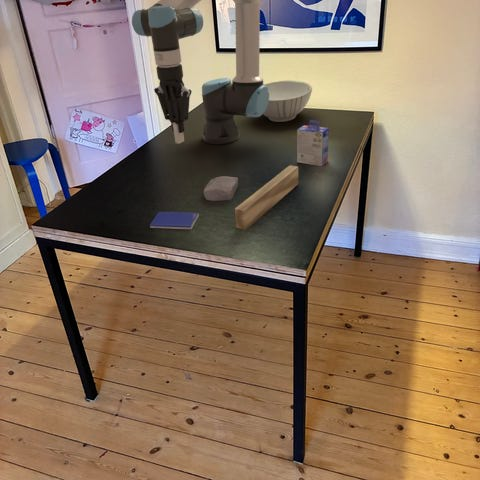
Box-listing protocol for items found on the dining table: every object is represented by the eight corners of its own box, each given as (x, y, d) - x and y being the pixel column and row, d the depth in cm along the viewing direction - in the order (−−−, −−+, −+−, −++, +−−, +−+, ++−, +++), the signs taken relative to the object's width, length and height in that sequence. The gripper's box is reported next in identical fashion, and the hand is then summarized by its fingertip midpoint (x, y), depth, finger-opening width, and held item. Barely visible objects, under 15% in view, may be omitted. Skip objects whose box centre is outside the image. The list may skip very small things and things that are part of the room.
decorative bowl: (296, 131, 197) (295, 102, 190) (241, 124, 210) (238, 97, 203) (322, 109, 215) (322, 82, 208) (270, 104, 228) (268, 78, 221)
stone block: (204, 206, 151) (233, 201, 148) (199, 192, 148) (229, 187, 145) (213, 190, 161) (241, 185, 158) (208, 177, 158) (237, 172, 155)
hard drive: (198, 212, 141) (159, 211, 144) (191, 226, 134) (149, 224, 137) (199, 216, 142) (160, 215, 145) (191, 230, 135) (150, 229, 138)
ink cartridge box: (329, 161, 168) (330, 121, 160) (322, 167, 164) (323, 126, 157) (303, 157, 173) (303, 117, 165) (296, 162, 169) (296, 122, 161)
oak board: (236, 227, 134) (234, 208, 131) (290, 182, 156) (289, 165, 153) (245, 229, 132) (243, 210, 129) (298, 183, 154) (298, 166, 151)
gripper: (143, 66, 140) (156, 143, 152) (177, 68, 133) (188, 148, 146) (160, 60, 145) (171, 135, 158) (194, 63, 139) (203, 140, 151)
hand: (179, 141), depth 152 cm, fingers closed
